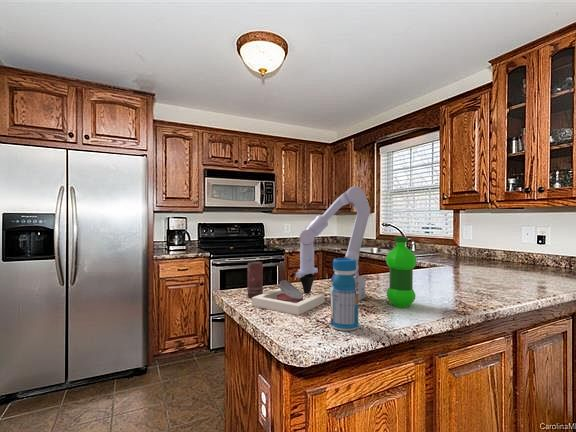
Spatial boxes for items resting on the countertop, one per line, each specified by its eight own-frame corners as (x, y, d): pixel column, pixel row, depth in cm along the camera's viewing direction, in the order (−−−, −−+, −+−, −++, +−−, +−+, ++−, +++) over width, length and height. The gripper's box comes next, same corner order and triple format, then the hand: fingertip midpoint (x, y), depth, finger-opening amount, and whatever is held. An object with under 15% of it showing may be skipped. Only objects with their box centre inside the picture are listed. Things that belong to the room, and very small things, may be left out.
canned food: (292, 312, 125) (302, 288, 127) (302, 317, 115) (313, 291, 118) (267, 301, 121) (278, 276, 124) (275, 305, 112) (287, 278, 115)
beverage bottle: (340, 333, 90) (340, 262, 90) (324, 324, 97) (324, 258, 97) (364, 329, 93) (365, 260, 93) (348, 320, 101) (348, 256, 101)
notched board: (324, 302, 121) (324, 294, 121) (298, 315, 106) (298, 306, 106) (281, 294, 132) (281, 287, 132) (251, 305, 117) (251, 297, 117)
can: (260, 299, 126) (260, 263, 126) (245, 298, 127) (245, 262, 127) (265, 295, 132) (265, 261, 132) (250, 294, 133) (250, 260, 133)
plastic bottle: (403, 311, 110) (404, 238, 110) (380, 304, 119) (380, 236, 119) (422, 306, 116) (422, 237, 115) (398, 300, 124) (398, 235, 124)
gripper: (307, 256, 138) (307, 288, 138) (289, 260, 126) (289, 295, 126) (322, 257, 134) (322, 290, 135) (304, 262, 122) (304, 297, 122)
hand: (307, 292), depth 130 cm, fingers closed
